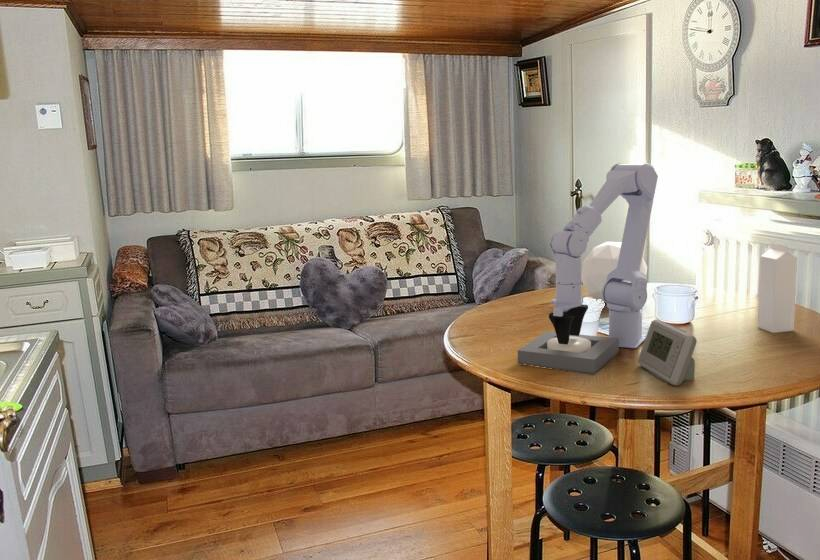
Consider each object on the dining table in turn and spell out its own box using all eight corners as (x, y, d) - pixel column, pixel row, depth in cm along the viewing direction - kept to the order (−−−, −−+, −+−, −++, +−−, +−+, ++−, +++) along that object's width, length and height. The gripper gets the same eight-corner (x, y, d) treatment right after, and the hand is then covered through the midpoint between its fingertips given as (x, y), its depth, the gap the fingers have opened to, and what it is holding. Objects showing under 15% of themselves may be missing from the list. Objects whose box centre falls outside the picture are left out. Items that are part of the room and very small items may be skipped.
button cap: (556, 347, 176) (556, 334, 176) (596, 352, 171) (596, 338, 170) (540, 358, 168) (540, 345, 167) (582, 363, 163) (582, 350, 162)
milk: (772, 333, 182) (776, 246, 178) (756, 327, 188) (760, 243, 183) (794, 330, 183) (798, 244, 179) (777, 325, 189) (781, 241, 185)
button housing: (547, 344, 182) (546, 331, 181) (618, 352, 172) (618, 338, 172) (517, 364, 167) (517, 350, 166) (594, 374, 157) (594, 359, 157)
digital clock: (635, 364, 163) (636, 318, 161) (676, 363, 163) (677, 317, 161) (657, 388, 147) (658, 338, 145) (702, 387, 147) (704, 336, 145)
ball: (630, 326, 220) (657, 282, 206) (567, 304, 222) (590, 258, 207) (634, 285, 233) (661, 241, 219) (575, 265, 235) (597, 219, 221)
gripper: (562, 275, 174) (563, 330, 177) (540, 287, 162) (541, 345, 165) (591, 277, 170) (591, 332, 173) (570, 289, 158) (570, 349, 161)
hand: (569, 339), depth 169 cm, fingers open, 7 cm apart
